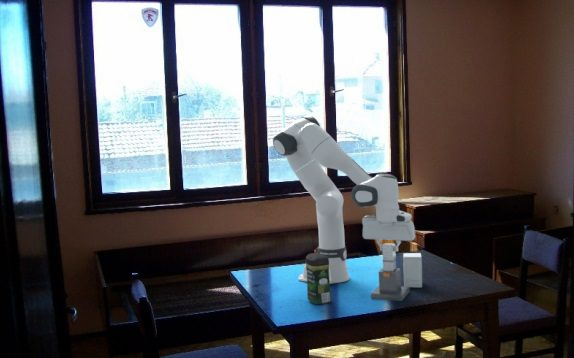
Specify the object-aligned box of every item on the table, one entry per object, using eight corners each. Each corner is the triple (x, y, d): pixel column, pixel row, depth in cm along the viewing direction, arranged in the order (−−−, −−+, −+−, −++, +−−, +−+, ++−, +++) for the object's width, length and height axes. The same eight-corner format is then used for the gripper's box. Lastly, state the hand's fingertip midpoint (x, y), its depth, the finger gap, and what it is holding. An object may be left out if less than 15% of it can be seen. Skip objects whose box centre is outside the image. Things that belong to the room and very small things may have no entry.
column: (383, 290, 232) (382, 245, 231) (386, 287, 236) (385, 243, 234) (394, 291, 231) (392, 245, 229) (396, 288, 234) (395, 243, 233)
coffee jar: (304, 299, 234) (302, 253, 232) (322, 296, 237) (320, 250, 235) (315, 306, 225) (312, 258, 223) (334, 303, 228) (331, 255, 226)
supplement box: (422, 287, 241) (421, 256, 240) (403, 287, 243) (402, 257, 242) (422, 282, 249) (421, 252, 247) (404, 282, 250) (403, 252, 249)
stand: (371, 298, 231) (370, 273, 230) (380, 289, 242) (379, 265, 241) (401, 301, 226) (400, 275, 225) (409, 291, 236) (408, 267, 235)
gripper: (359, 216, 232) (360, 251, 234) (411, 217, 223) (412, 254, 225) (364, 213, 238) (365, 247, 239) (415, 214, 229) (416, 250, 230)
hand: (389, 250), depth 232 cm, fingers closed on column, 4 cm apart
